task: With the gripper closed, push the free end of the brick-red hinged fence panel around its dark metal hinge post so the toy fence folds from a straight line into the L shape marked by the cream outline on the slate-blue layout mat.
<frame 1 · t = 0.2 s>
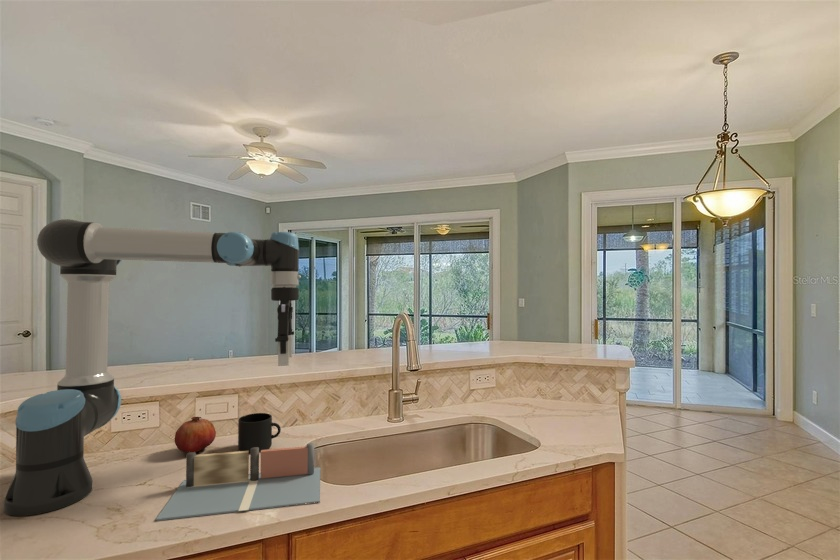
hand: (285, 361, 120), 27 cm above the countertop, fingers open, 13 cm apart
fence panel: (287, 460, 107), point 4 cm above the countertop, hinge at 0.0°
fruit: (195, 451, 124), on the countertop
mug: (259, 447, 127), on the countertop
fence fixed: (254, 480, 105), resting on layout mat
layout mat: (248, 491, 99), on the countertop
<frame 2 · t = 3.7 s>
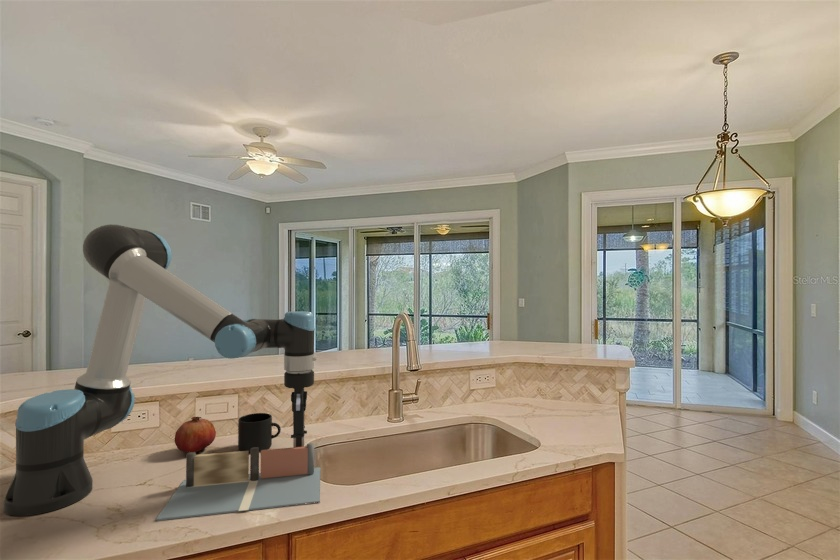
hand: (298, 460, 110), 3 cm above the countertop, fingers closed
fence panel: (287, 460, 107), point 4 cm above the countertop, hinge at -0.1°, touching gripper
everything else where it was.
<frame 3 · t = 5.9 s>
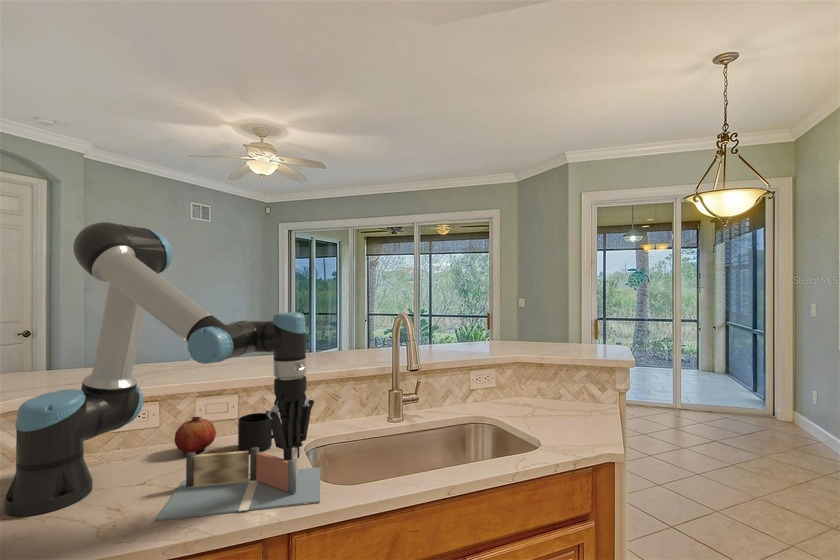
hand: (291, 473, 102), 3 cm above the countertop, fingers closed
fence panel: (276, 470, 101), point 4 cm above the countertop, hinge at -44.5°, touching gripper
everything else where it was.
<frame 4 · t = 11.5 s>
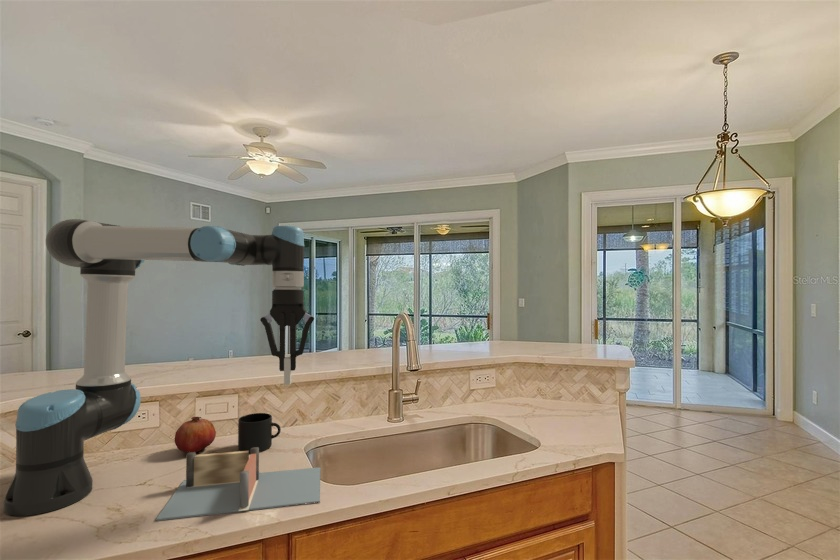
hand: (287, 383, 104), 24 cm above the countertop, fingers closed
fence panel: (248, 477, 97), point 4 cm above the countertop, hinge at -90.4°
everything else where it was.
at the end: fence panel at -90° (first picture: +0°); the gripper is holding nothing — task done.
